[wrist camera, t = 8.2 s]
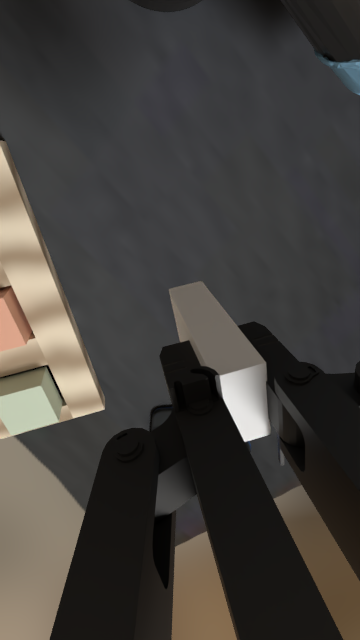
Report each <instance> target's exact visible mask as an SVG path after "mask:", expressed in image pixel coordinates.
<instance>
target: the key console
mask: <svg viewBox="0 0 360 640" xmlns="http://www.w3.org/2000/svg"><path fill="white" fill-rule="evenodd" d="M10 285H11V286H12V288H13V290H14V292H15V294H16V297H17V299H18V301H19V303H20V305H21V307H22V309H23V312H24V314H25V316H26V318H27V320H28V322H29V324H30V327H31V329H32V332H31V335H30V337H29V339H28V342H27V344H26V345H24V346H20V347H16V348H12V349H8V350H5V351H1V352H0V379H1V378H3V376H7V375H11V374H14V373H18V372H22V371H26V370H29V369H33V368H37V367H41V366H44V365H49V367H50V370H51V372H52V374H53V376H54V378H55V380H56V382H57V385H58V387H59V389H60V391H61V393H62V396H60V397H61V399H62V401H63V402H62V408H61V414H60V419H59V422H62V421H66V420H69V419H73V418H76V417H80V416H83V415H87V414H90V413H94V412H97V411H101V410H104V409H105V397H104V395H103V392H102V390H101V387H100V384H99V382H98V379H97V377H96V374H95V371H94V369H93V366H92V364H91V361H90V358H89V356H88V353H87V351H86V348H85V346H84V343H83V340H82V338H81V335H80V333H79V330H78V327H77V325H76V322H75V320H74V317H73V314H72V312H71V309H70V307H69V304H68V302H67V299H66V296H65V294H64V291H63V289H62V286H61V283H60V281H59V278H58V276H57V273H56V270H55V268H54V265H53V263H52V260H51V258H50V255H49V252H48V250H47V247H46V245H45V242H44V239H43V237H42V234H41V232H40V229H39V226H38V224H37V221H36V219H35V216H34V214H33V211H32V208H31V206H30V203H29V201H28V198H27V195H26V193H25V190H24V188H23V185H22V182H21V180H20V177H19V175H18V172H17V170H16V167H15V164H14V162H13V159H12V157H11V154H10V151H9V149H8V146H7V144H6V141H1V140H0V288H2V287H6V286H10ZM59 422H57V423H59ZM53 424H55V423H53ZM50 425H52V424H50ZM46 426H48V425H46ZM43 427H45V426H43ZM39 428H41V427H39ZM36 429H38V428H36ZM32 430H34V429H32ZM29 431H31V430H29ZM25 432H27V431H25ZM22 433H24V432H22ZM18 434H20V433H18ZM15 435H17V434H15ZM9 436H13V435H10V433H9V431H8V430H7V428H6V426H5V425H4V423H3V422H2V420H1V418H0V439H3V438H6V437H9Z"/></svg>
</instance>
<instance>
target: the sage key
mask: <svg viewBox="0 0 360 640" xmlns="http://www.w3.org/2000/svg"><path fill="white" fill-rule="evenodd" d="M62 402H63V401H62V399H61V397H60V394H59V392H58V390H57V388H56V386H55V384H54V382H53V380H52V377H51V375H50V373H49V371H48V369H47V367H42V368H39V369H35V370H31V371H27V372H24V373H20V374H16V375H12V376H9V377H5V378H1V379H0V418H1V420H2V422H3V423H4V425H5V426H6V428H7V430H8V431H9V433H10V435H15V434H18V433H22V432H25V431H29V430H32V429H36V428H39V427H43V426H46V425H50V424H53V423H57V422H59V419H60V414H61V408H62Z"/></svg>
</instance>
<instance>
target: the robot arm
mask: <svg viewBox="0 0 360 640" xmlns="http://www.w3.org/2000/svg"><path fill="white" fill-rule="evenodd" d="M130 1H132V2H133V3H135V4H137V5H139V6H141V7H144V8H147V9H150V10H154V11H160V12H174V11H180V10H184V9H187V8H189V7H192V6H194V5H196V4H197V3H199V2H201V1H202V0H130ZM280 1H281V2H282V3H283V5H284V6H285V8H286V9H287V10H288V12H289V13H290V15H291V16H292V18H293V19H294V20H295V22H296V23H297V25H298V26H299V27H300V29H301V30H302V32H303V33H304V35H305V36H306V37H307V39H308V40H309V42H310V43H311V44H312V46H313V48H314V51H315V55H316V56H317V58H318V59H319V60H320V61H321V62H322V63H324V64H325V65H328V66H329V67H330V68H331V69H332V70H333V71H334V73H335V74H336V75H337V76H338V78H339V79H340V80H341V81H342V82H343V84H344V85H345V86H346V87H347V88H348V89H349V90H350V91H352V92H354V93H356V94H358V95H360V0H280ZM169 293H170V297H171V302H172V306H173V311H174V316H175V320H176V325H177V330H178V334H179V339H180V343H176V344H173V345H169V346H165V347H163V348H162V351H161V354H160V360H161V364H162V368H163V372H164V376H165V380H166V384H167V387H168V391H169V395H170V398H171V402H172V406H173V407H172V411H171V414H170V415H169V417H168V418H167V420H166V421H165V422H164V423H163V424H161V425H160V426H159V427H157V428H155V429H154V430H152V431H150V432H149V431H147V430H145V429H143V428H131V429H127V430H123V431H121V432H120V433H118V434H116V435H114V436H113V437H112V438H111V439H110V440H109V441H108V442H107V444H106V446H105V448H104V450H103V452H102V455H101V459H100V462H99V466H98V469H97V473H96V477H95V480H94V484H93V487H92V491H91V494H90V498H89V501H88V505H87V509H86V512H85V516H84V520H83V523H82V526H81V530H80V534H79V537H78V540H77V544H76V548H75V551H74V555H73V558H72V562H71V565H70V569H69V573H68V576H67V580H66V583H65V587H64V590H63V594H62V597H61V601H60V604H59V608H58V611H57V615H56V619H55V622H54V626H53V629H52V633H51V636H50V640H171V635H172V608H173V582H174V554H175V529H176V509H177V508H179V507H180V506H181V505H183V504H184V503H185V502H187V501H188V500H189V499H191V498H192V497H194V496H195V495H196V494H197V497H198V501H199V504H200V508H201V511H202V515H203V519H204V522H205V526H206V529H207V533H208V537H209V540H210V544H211V547H212V551H213V555H214V558H215V562H216V565H217V569H218V573H219V576H220V580H221V583H222V587H223V590H224V594H225V598H226V601H227V605H228V608H229V612H230V616H231V619H232V623H233V627H234V630H235V634H236V637H237V640H343V638H342V636H341V634H340V632H339V630H338V628H337V626H336V624H335V622H334V620H333V618H332V616H331V614H330V612H329V610H328V608H327V606H326V604H325V602H324V600H323V598H322V596H321V594H320V592H319V590H318V588H317V586H316V584H315V582H314V580H313V578H312V576H311V574H310V572H309V570H308V568H307V566H306V564H305V562H304V560H303V558H302V556H301V554H300V552H299V550H298V548H297V546H296V544H295V542H294V540H293V538H292V536H291V534H290V532H289V530H288V528H287V526H286V524H285V522H284V520H283V518H282V516H281V514H280V512H279V510H278V508H277V506H276V504H275V502H274V500H273V498H272V496H271V494H270V492H269V490H268V488H267V486H266V484H265V482H264V480H263V478H262V476H261V474H260V472H259V470H258V468H257V466H256V464H255V462H254V460H253V458H252V456H251V454H250V452H249V450H248V448H247V446H246V444H245V442H247V441H250V440H253V439H256V438H260V437H263V436H266V435H269V434H271V428H270V422H271V423H272V425H273V426H274V428H275V430H276V431H277V438H278V457H279V462H280V465H281V466H282V465H284V456H285V458H286V459H287V461H288V463H289V464H290V466H291V468H292V469H293V471H294V473H295V474H296V476H297V478H298V479H299V481H300V483H301V484H302V486H303V487H304V489H305V491H306V492H307V494H308V496H309V498H310V499H311V501H312V502H313V504H314V506H315V507H316V509H317V511H318V512H319V514H320V516H321V517H322V519H323V521H324V522H325V524H326V526H327V527H328V529H329V531H330V532H331V534H332V536H333V537H334V539H335V541H336V542H337V544H338V546H339V547H340V549H341V551H342V552H343V554H344V556H345V557H346V559H347V561H348V562H349V564H350V565H351V567H352V569H353V571H354V572H355V574H356V575H357V577H358V579H359V580H360V361H359V362H358V363H357V364H356V369H355V373H343V374H325V373H324V372H323V371H322V370H321V369H320V368H318V367H317V366H315V365H313V364H310V363H306V362H299V361H298V360H297V359H296V358H295V357H294V356H293V355H292V354H291V353H290V352H289V351H288V350H287V349H286V348H285V347H284V346H283V345H282V343H281V342H280V341H278V339H277V338H276V337H275V336H274V335H272V333H271V332H270V331H269V330H268V329H267V328H266V327H265V326H263V325H261V324H258V323H256V322H250V323H247V324H243V325H239V326H237V325H236V324H235V323H234V321H233V320H232V319H231V318H230V316H229V315H228V314H227V313H226V311H225V310H224V309H223V308H222V306H221V305H220V304H219V303H218V301H217V300H216V299H215V297H214V296H213V295H212V294H211V292H210V291H209V290H208V289H207V287H206V286H205V285H204V284H203V282H202V281H199V282H195V283H191V284H187V285H183V286H179V287H175V288H171V289H169Z"/></svg>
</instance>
